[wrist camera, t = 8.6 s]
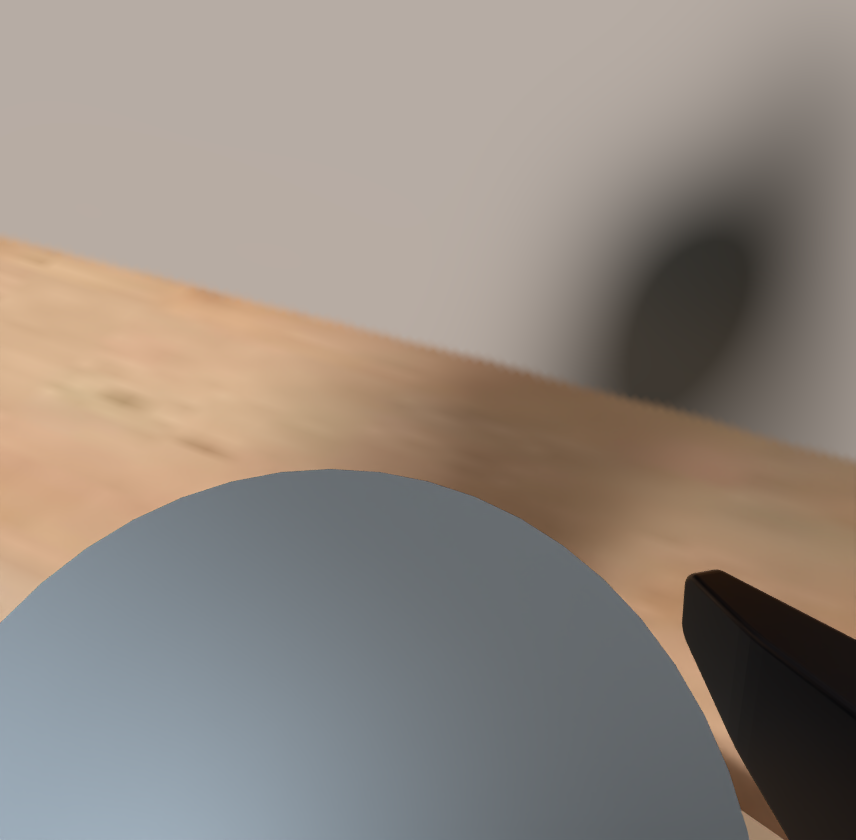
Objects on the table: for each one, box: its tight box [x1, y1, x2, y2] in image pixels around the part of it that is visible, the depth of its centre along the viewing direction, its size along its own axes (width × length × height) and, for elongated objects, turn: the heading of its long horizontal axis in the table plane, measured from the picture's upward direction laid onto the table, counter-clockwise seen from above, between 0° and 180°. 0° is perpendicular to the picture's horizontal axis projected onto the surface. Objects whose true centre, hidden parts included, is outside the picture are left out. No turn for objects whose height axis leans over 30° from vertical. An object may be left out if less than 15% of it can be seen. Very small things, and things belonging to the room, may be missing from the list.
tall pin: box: [0, 469, 749, 840], centre depth 10 cm, size 5×5×13 cm
